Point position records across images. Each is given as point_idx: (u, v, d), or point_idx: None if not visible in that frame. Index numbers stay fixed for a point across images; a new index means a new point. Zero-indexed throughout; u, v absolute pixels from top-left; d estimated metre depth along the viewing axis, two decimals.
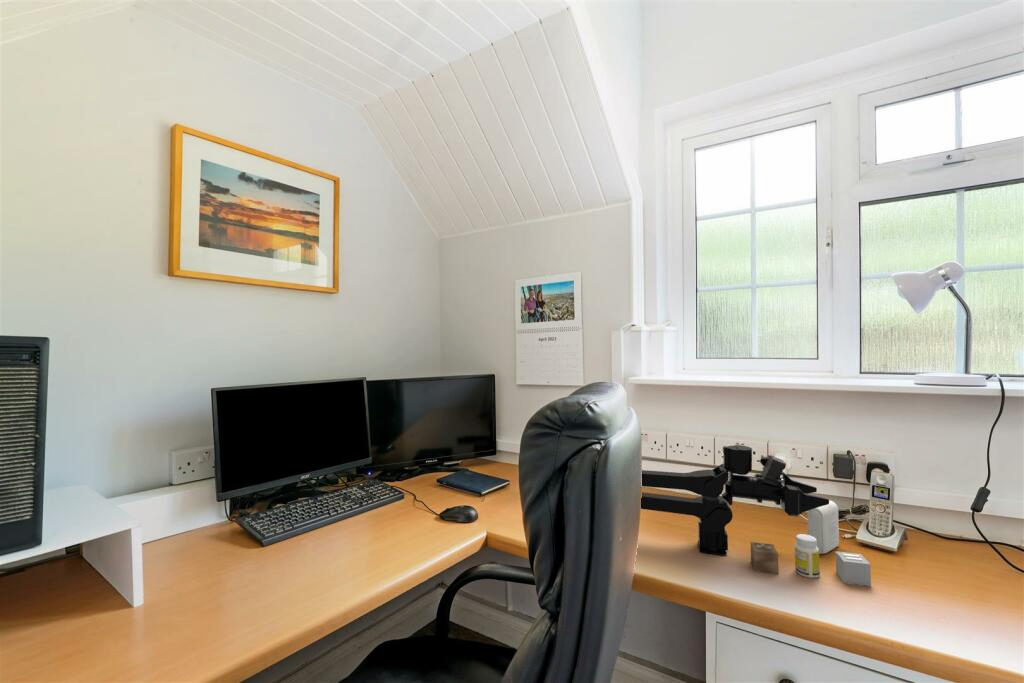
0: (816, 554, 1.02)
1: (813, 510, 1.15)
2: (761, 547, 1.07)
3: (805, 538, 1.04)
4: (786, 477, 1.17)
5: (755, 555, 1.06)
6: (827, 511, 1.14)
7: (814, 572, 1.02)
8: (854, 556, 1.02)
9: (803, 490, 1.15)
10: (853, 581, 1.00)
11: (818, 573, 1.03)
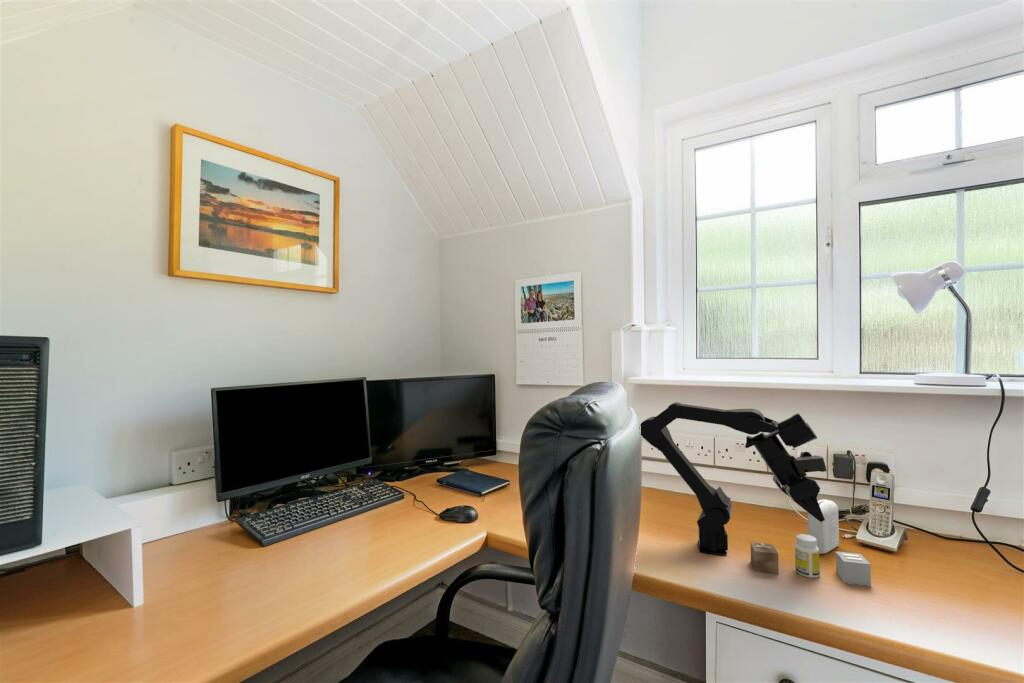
0: (816, 554, 1.02)
1: None
2: (761, 547, 1.07)
3: (805, 538, 1.04)
4: None
5: (755, 555, 1.06)
6: (827, 511, 1.14)
7: (814, 572, 1.02)
8: (854, 556, 1.02)
9: None
10: (853, 581, 1.00)
11: (818, 573, 1.03)
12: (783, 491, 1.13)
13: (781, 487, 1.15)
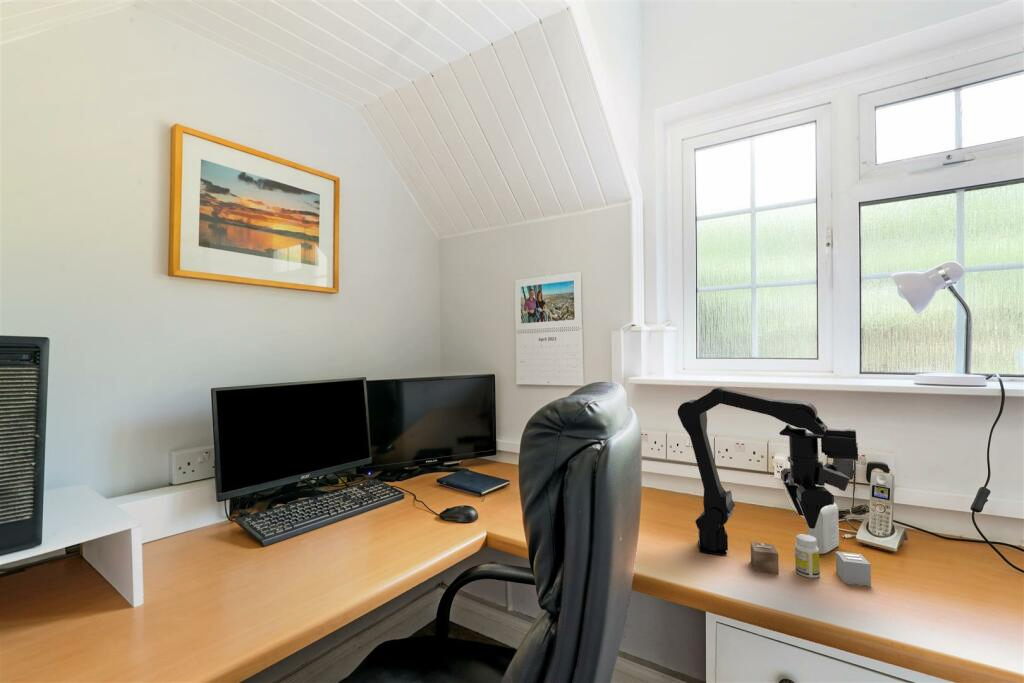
0: (816, 554, 1.02)
1: None
2: (761, 547, 1.07)
3: (805, 538, 1.04)
4: None
5: (755, 555, 1.06)
6: (827, 511, 1.14)
7: (814, 572, 1.02)
8: (854, 556, 1.02)
9: (798, 503, 1.09)
10: (853, 581, 1.00)
11: (818, 573, 1.03)
12: (786, 487, 1.10)
13: (785, 482, 1.12)
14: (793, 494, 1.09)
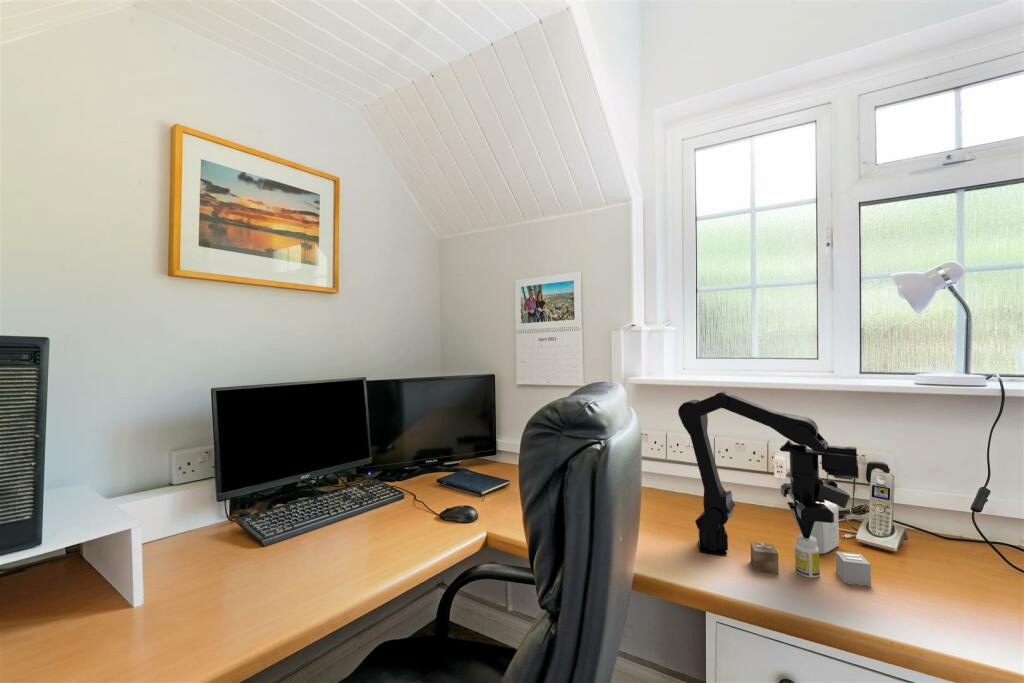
0: (816, 554, 1.02)
1: None
2: (761, 547, 1.07)
3: (805, 538, 1.04)
4: None
5: (755, 555, 1.06)
6: None
7: (814, 572, 1.02)
8: (854, 556, 1.02)
9: None
10: (853, 581, 1.00)
11: (818, 573, 1.03)
12: (791, 508, 1.06)
13: (789, 502, 1.08)
14: None
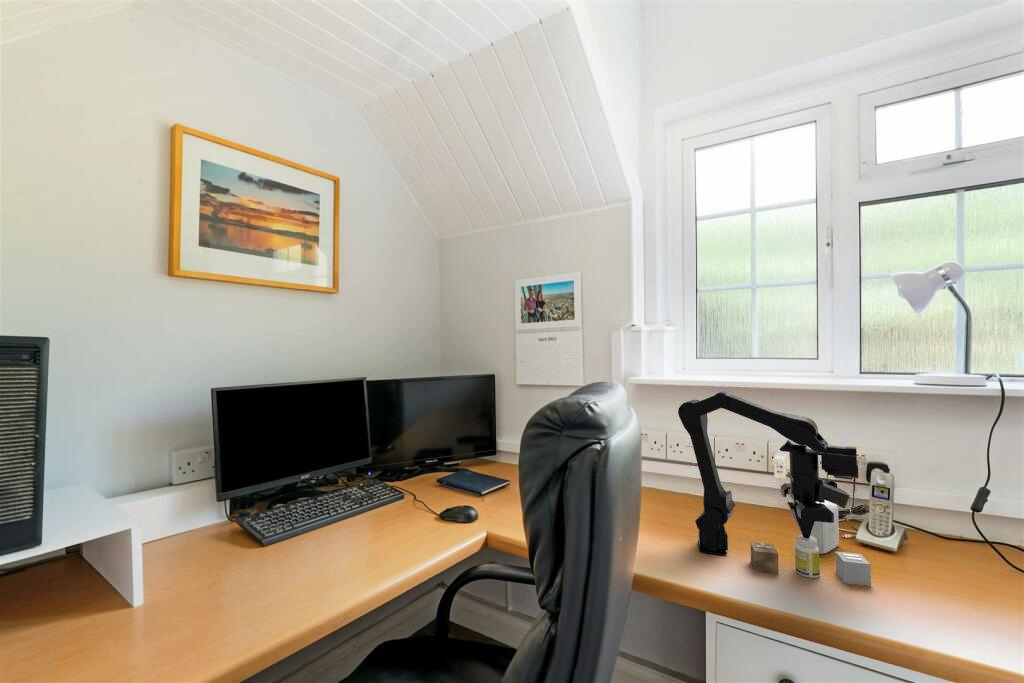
0: (816, 554, 1.02)
1: None
2: (761, 547, 1.07)
3: (805, 538, 1.04)
4: None
5: (755, 555, 1.06)
6: None
7: (814, 572, 1.02)
8: (854, 556, 1.02)
9: None
10: (853, 581, 1.00)
11: (818, 573, 1.03)
12: (791, 508, 1.06)
13: (789, 502, 1.08)
14: None
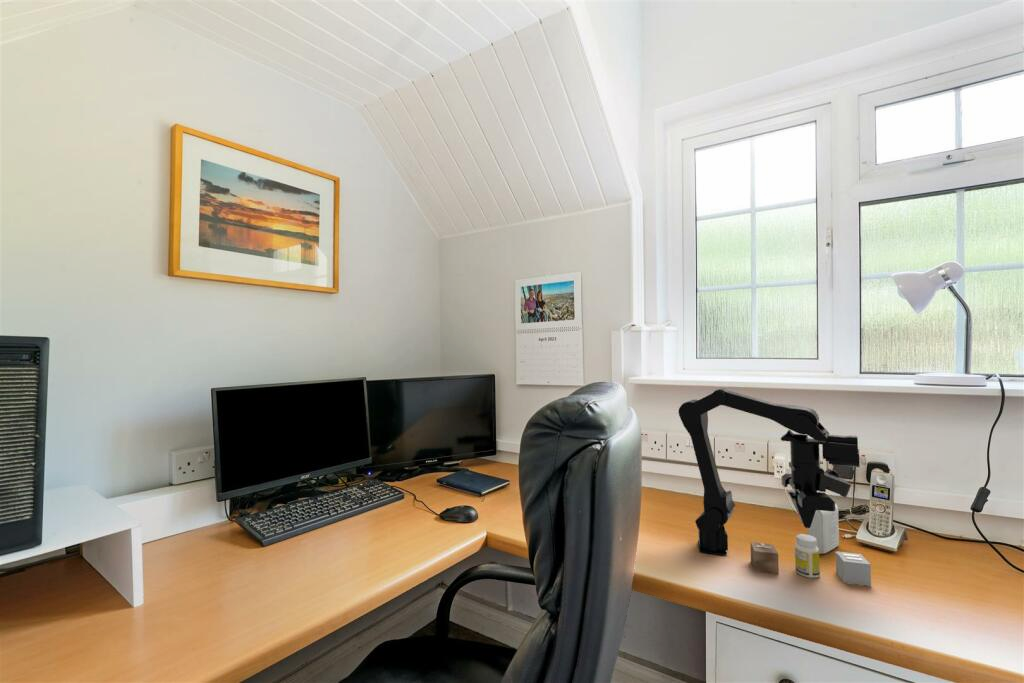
0: (816, 554, 1.02)
1: None
2: (761, 547, 1.07)
3: (805, 538, 1.04)
4: None
5: (755, 555, 1.06)
6: (827, 511, 1.14)
7: (814, 572, 1.02)
8: (854, 556, 1.02)
9: None
10: (853, 581, 1.00)
11: (818, 573, 1.03)
12: (792, 497, 1.06)
13: (790, 492, 1.08)
14: None
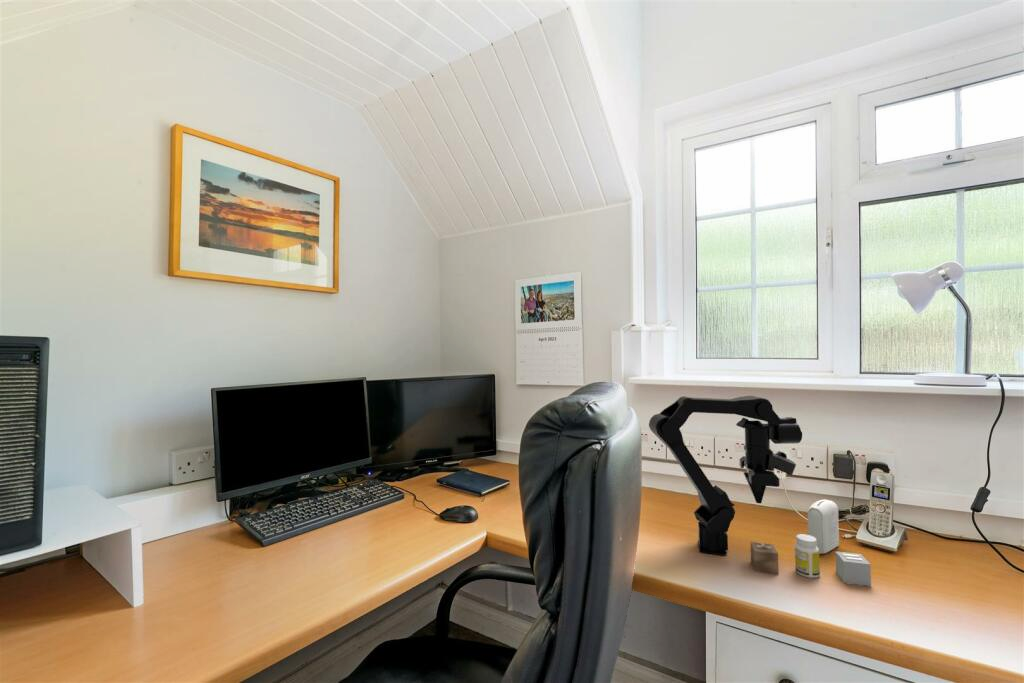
0: (816, 554, 1.02)
1: (813, 510, 1.15)
2: (761, 547, 1.07)
3: (805, 538, 1.04)
4: None
5: (755, 555, 1.06)
6: (827, 511, 1.14)
7: (814, 572, 1.02)
8: (854, 556, 1.02)
9: None
10: (853, 581, 1.00)
11: (818, 573, 1.03)
12: (746, 476, 1.19)
13: (745, 472, 1.21)
14: None
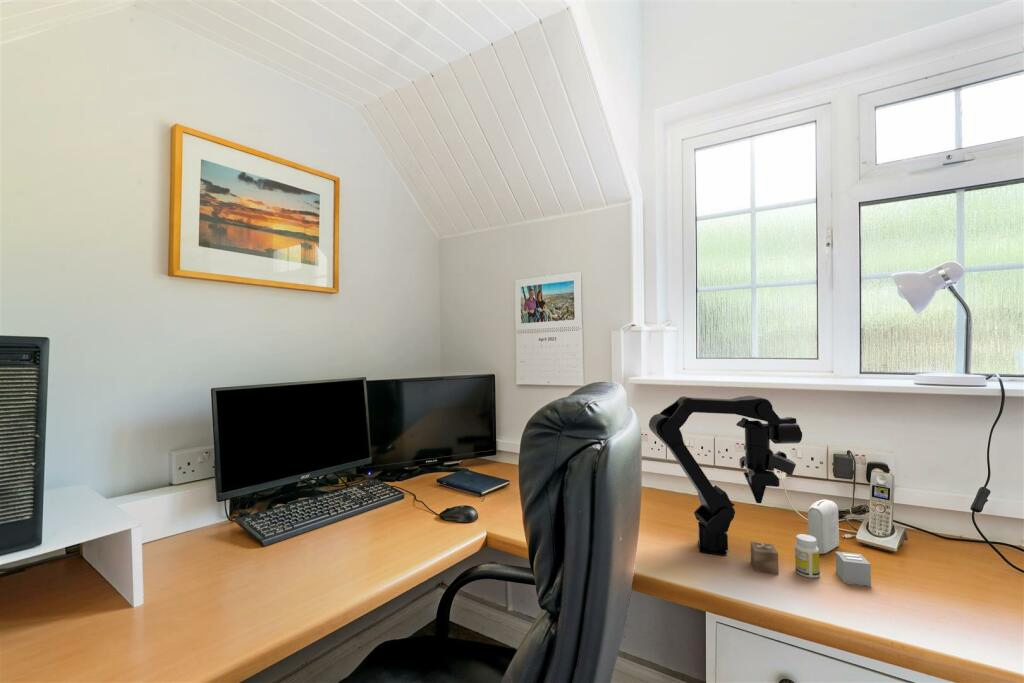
0: (816, 554, 1.02)
1: (813, 510, 1.15)
2: (761, 547, 1.07)
3: (805, 538, 1.04)
4: None
5: (755, 555, 1.06)
6: (827, 511, 1.14)
7: (814, 572, 1.02)
8: (854, 556, 1.02)
9: None
10: (853, 581, 1.00)
11: (818, 573, 1.03)
12: (746, 476, 1.19)
13: (745, 472, 1.21)
14: None
